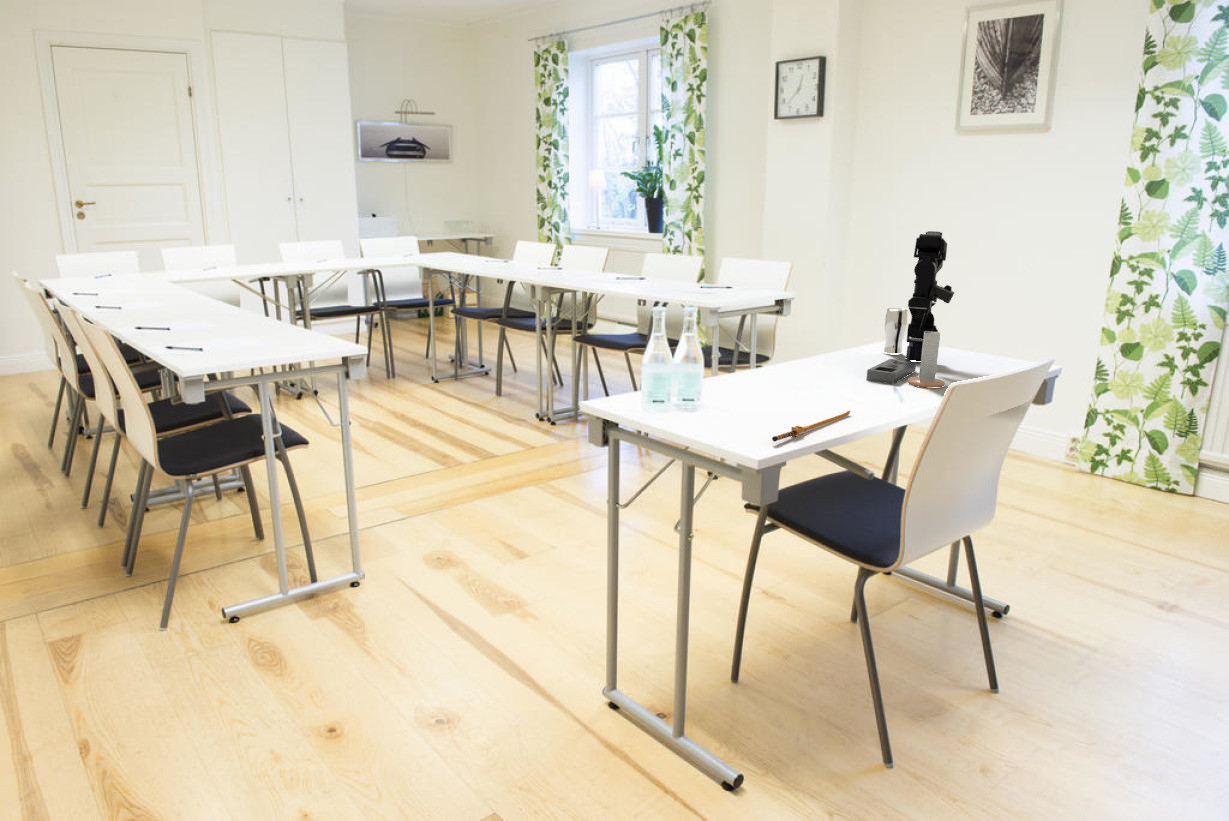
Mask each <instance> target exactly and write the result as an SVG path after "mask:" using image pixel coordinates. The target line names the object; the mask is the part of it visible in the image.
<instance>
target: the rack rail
mask: <svg viewBox="0 0 1229 821" xmlns="http://www.w3.org/2000/svg"><path fill="white" fill-rule="evenodd" d="M916 367H917V363H916V362H911V361H909V360H902V359H896V358H889V359H886V360H884V361H883V362H881V363H878V364H877V365H874V366H873V367H869V368H868V369H867V371H866V381H871V382H872V381H873V382H879V383H884V382H886V384H891V383H894V384H896V383H898V382H900V381H902V380H903V379H905V378H907V377H908V376H907V375H909V374H910V375H912V374H913V373H912V372H914V371H915V372H916ZM915 372H914V373H915ZM911 373H912V374H911ZM910 375H909V376H910ZM906 376H907V377H906ZM904 377H905V378H904ZM902 378H903V379H902ZM901 379H902V380H901ZM899 380H900V381H899ZM897 381H898V382H897Z"/></svg>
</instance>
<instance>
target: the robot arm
mask: <svg viewBox="0 0 1229 821" xmlns="http://www.w3.org/2000/svg"><path fill="white" fill-rule="evenodd" d="M947 252H948V243H947V242H946V240H945V239H944V238H943V232H941V231H932V230H929V231H926V232H925V233H920V234H919V236H918V237H916V239H915V246H914V252H913V258H917V263H916V265H915V266H914V270H913V272H914V275H915V279H914V281H913V284H914V288H913V289H914V290H913V291H914V292H913V293H912V297H911V298H910V299H909V300H908V304H907V307H908V310H909V312H910V315H911V319H910V323H907V325H908V326H907V332H906V333H907V334H906V343H908V345H907V347H906V355H905V357H906V358H907V359H909V360H916V361H921V355H922V347H923V338H924V331H930V332H939V330H938V329H937V325H935V316H934V314H933V313H932V307H933V306H935V305H936V303H937V301H938V300H940V301H943V303H945V304H950V302H951V301H952V298H953V296H954V294H955V291H953V290H952V286H950V285H949V284H946V285H945V286H944V287H943V286H940V285H938V280H937V274H938V272H940V270H941V269H942V268H943V265H944V264H943V263H944V262H945V261H946V258H947ZM907 359H906V360H907ZM909 360H908V361H909Z"/></svg>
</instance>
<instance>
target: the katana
mask: <svg viewBox="0 0 1229 821" xmlns="http://www.w3.org/2000/svg"><path fill="white" fill-rule="evenodd" d="M850 413H851V410H848V411H846V412H844V413H841V414H839V415H835V416H832V417H830V418H827V419H824V420H821V421H819V422H816V423H813V424H811V425H810V424H809V425H807V426H799V425H795V426H791V428H790V430H791V431H788V432H785V433H782V434H778V435H774V436H772V437H771V439H772V441H773V442H777V441H780V440H783V439H787V438H792V437H795V436H796V437H799V436H802V435H804V434H807V433H808V432H809V431H810V432H811V431H813V430H816V429H818V428H821V427H823V426H825V425H826V426H827V425H829V424H831V423H834V422H836V421H839V420H841V419H844V418H846V417H848V416H849V415H850ZM798 435H799V436H798ZM791 436H792V437H791ZM796 437H795V438H796Z"/></svg>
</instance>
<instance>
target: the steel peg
mask: <svg viewBox="0 0 1229 821" xmlns="http://www.w3.org/2000/svg"><path fill="white" fill-rule="evenodd" d="M940 340H941V333H940V331H938V332H930V331H924V338H923V347H922V355H921V363H920V364H919V374H918V377H919V381H920V382H928V383H934V382H935V379H936V373H937V367H938V366H937V365H938V357H939V356H938V355H939V348H940Z"/></svg>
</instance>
